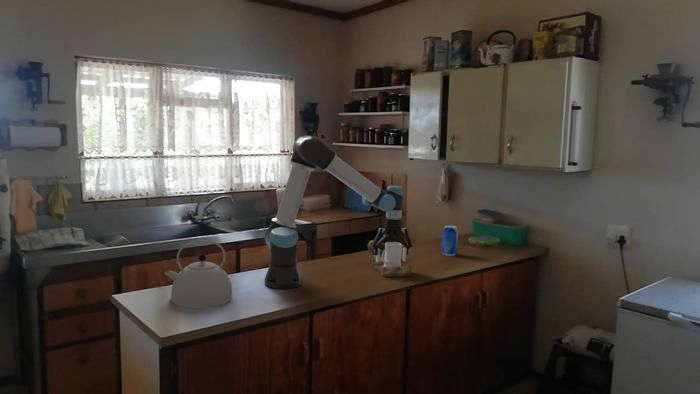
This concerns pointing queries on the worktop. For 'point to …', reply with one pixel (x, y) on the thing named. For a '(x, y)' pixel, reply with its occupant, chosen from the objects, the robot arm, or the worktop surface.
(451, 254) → the beer can
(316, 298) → the worktop surface
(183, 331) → the worktop surface
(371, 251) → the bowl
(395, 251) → the mug
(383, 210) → the robot arm
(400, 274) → the rack
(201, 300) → the kettle
